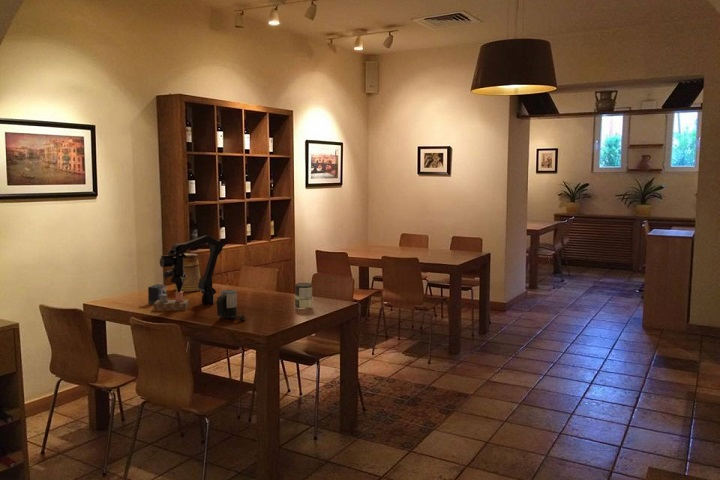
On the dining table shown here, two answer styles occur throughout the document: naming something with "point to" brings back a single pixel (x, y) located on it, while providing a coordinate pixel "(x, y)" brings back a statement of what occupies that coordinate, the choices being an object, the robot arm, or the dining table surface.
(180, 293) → the brick plug
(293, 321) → the dining table surface
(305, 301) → the coffee can
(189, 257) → the tankard
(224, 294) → the milk frother
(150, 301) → the small box
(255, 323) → the dining table surface
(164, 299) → the grey plug
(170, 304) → the socket block
